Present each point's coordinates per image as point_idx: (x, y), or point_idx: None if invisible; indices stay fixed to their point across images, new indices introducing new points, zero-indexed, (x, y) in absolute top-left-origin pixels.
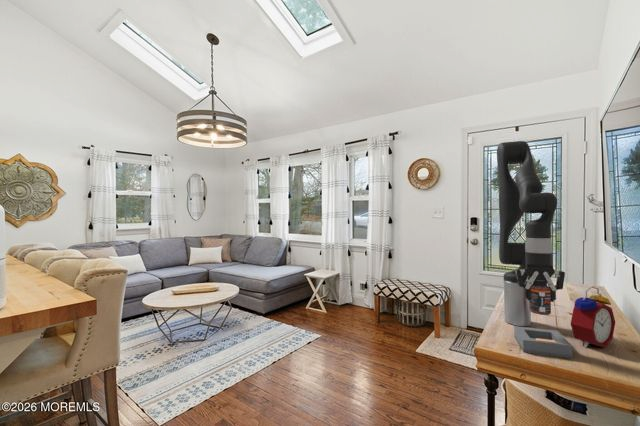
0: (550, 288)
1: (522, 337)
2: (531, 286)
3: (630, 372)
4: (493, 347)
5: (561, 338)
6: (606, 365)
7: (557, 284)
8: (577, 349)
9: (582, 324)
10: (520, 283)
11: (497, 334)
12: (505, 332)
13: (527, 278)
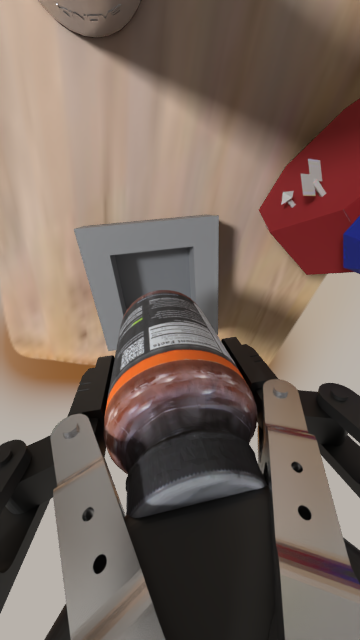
0: (260, 411)
1: (106, 335)
2: (120, 467)
3: (284, 334)
4: (43, 338)
5: (208, 292)
6: (259, 322)
7: (342, 420)
8: (240, 253)
9: (298, 256)
10: (18, 522)
11: (27, 222)
12: (49, 182)
13: (63, 527)
